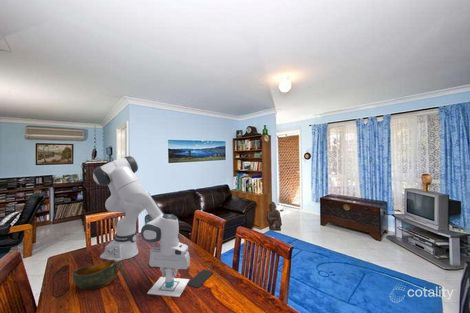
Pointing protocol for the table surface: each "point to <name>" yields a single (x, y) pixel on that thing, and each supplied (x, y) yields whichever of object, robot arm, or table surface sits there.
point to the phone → (200, 278)
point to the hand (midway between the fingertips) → (169, 275)
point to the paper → (174, 291)
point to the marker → (169, 277)
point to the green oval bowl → (96, 275)
